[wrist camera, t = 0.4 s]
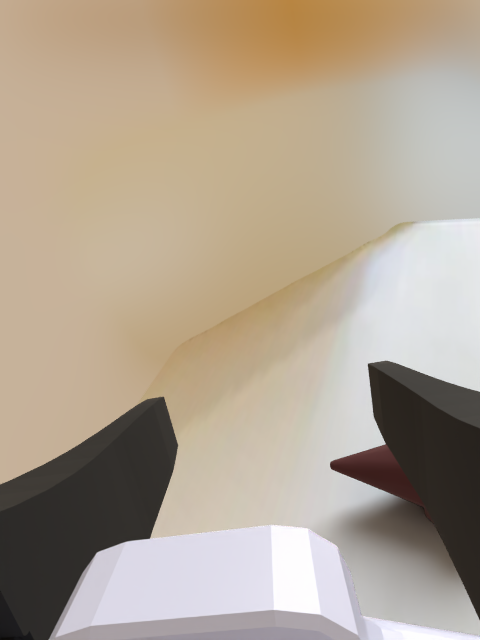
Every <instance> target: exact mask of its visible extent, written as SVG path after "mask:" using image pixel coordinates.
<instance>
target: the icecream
mask: <svg viewBox="0 0 480 640" xmlns="http://www.w3.org/2000/svg"><path fill="white" fill-rule="evenodd" d="M330 467H331V469H332V470H335V471H337V472H339V473H342V474H344V475H347V476H349V477H352V478H354V479H357V480H359V481H361V482H364V483H366V484H369V485H371V486H374V487H376V488H378V489H381V490H383V491H386V492H388V493H390V494H393V495H395V496H398V497H400V498H402V499H405V500H407V501H410V502H412V503H414V504H417V505H419V506H422V507H424V511H425V515H426V517H427V518H428V519H429V520H430V521H432V522H433V520H432V518H431V516H430V514H429V512H428V511H427V509H426V507H425V505H424V504H423V502H422V500H421V499H420V497H419V495H418V494H417V492H416V491H415V489H414V487H413V486H412V484H411V483H410V481H409V480H408V478H407V476H406V475H405V473H404V472H403V470H402V468H401V467H400V465H399V464H398V462H397V460H396V459H395V457H394V456H393V454H392V452H391V451H390V449H389V448H388V446H387V444H386V445H382V446H379V447H376V448H373V449H369V450H366V451H363V452H360V453H357V454H353V455H350V456H347V457H343V458H340V459H337V460H334V461H331V463H330ZM433 524H434V522H433ZM434 525H435V524H434Z"/></svg>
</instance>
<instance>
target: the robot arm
mask: <svg viewBox="0 0 480 640" xmlns="http://www.w3.org/2000/svg"><path fill="white" fill-rule="evenodd" d="M368 370H369V378H370V387H371V396H372V405H373V413H374V418H375V421H376V423H377V425H378V428H379V430H380V432H381V434H382V436H383V439H384V441H385V443H386V444H387V446H388V448H389V449H390V451H391V452H392V454H393V456H394V457H395V459H396V460H397V462H398V464H399V465H400V467H401V468H402V470H403V472H404V473H405V475H406V476H407V478H408V480H409V481H410V483H411V484H412V486H413V487H414V489H415V491H416V492H417V494H418V495H419V497H420V499H421V500H422V502H423V504H424V505H425V507H426V509H427V511H428V512H429V514H430V516H431V518H432V520H433V522H434V524H435V526H436V528H437V530H438V532H439V534H440V536H441V538H442V540H443V542H444V544H445V546H446V549H447V551H448V553H449V555H450V557H451V559H452V561H453V563H454V565H455V567H456V570H457V572H458V574H459V576H460V578H461V580H462V582H463V584H464V586H465V589H466V591H467V593H468V595H469V597H470V600H471V602H472V604H473V606H474V608H475V611H476V613H477V615H478V617H479V619H480V392H478V391H474V390H471V389H467V388H464V387H461V386H457V385H454V384H451V383H448V382H445V381H442V380H439V379H436V378H433V377H431V376H428V375H425V374H423V373H420V372H417V371H415V370H412V369H410V368H407V367H404V366H402V365H399V364H396V363H393V362H390V361H381V362H375V363H369V364H368ZM177 448H178V444H177V440H176V437H175V433H174V430H173V426H172V423H171V420H170V416H169V413H168V409H167V406H166V402H165V399H164V397H159V398H152V399H147V400H145V401H143V402H142V403H140V404H138V405H137V406H135V407H134V408H132V409H131V410H129V411H128V412H126V413H125V414H124V415H122V416H121V417H119V418H118V419H116V420H115V421H114V422H112V423H111V424H110V425H108V426H107V427H105V428H104V429H102V430H101V431H99V432H98V433H96V434H94V435H93V436H92V437H90V438H88V439H87V440H85V441H84V442H82V443H81V444H79V445H78V446H76V447H75V448H73V449H71V450H69V451H68V452H66V453H64V454H62V455H60V456H59V457H57V458H55V459H53V460H52V461H50V462H48V463H46V464H44V465H42V466H40V467H38V468H36V469H33V470H31V471H29V472H27V473H25V474H23V475H21V476H19V477H17V478H15V479H12V480H10V481H8V482H5V483H3V484H1V485H0V640H480V636H478V635H472V634H466V633H460V632H454V631H448V630H442V629H436V628H430V627H424V626H419V625H413V624H407V623H401V622H395V621H389V620H383V619H377V618H371V617H365V616H362V614H361V610H360V606H359V602H358V598H357V595H356V591H355V587H354V583H353V579H352V576H351V572H350V570H349V568H348V566H347V564H346V562H345V560H344V558H343V557H342V555H341V553H340V551H339V549H338V547H337V546H336V545H334V544H333V543H331V542H329V541H328V540H326V539H324V538H323V537H321V536H319V535H317V534H316V533H314V532H312V531H311V530H309V529H307V528H301V527H291V526H280V525H265V526H256V527H248V528H239V529H230V530H222V531H213V532H204V533H196V534H187V535H178V536H170V537H161V538H152V539H150V537H151V533H152V530H153V527H154V524H155V522H156V519H157V516H158V513H159V510H160V507H161V505H162V502H163V499H164V496H165V493H166V490H167V488H168V485H169V482H170V479H171V476H172V473H173V469H174V464H175V460H176V454H177Z"/></svg>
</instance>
